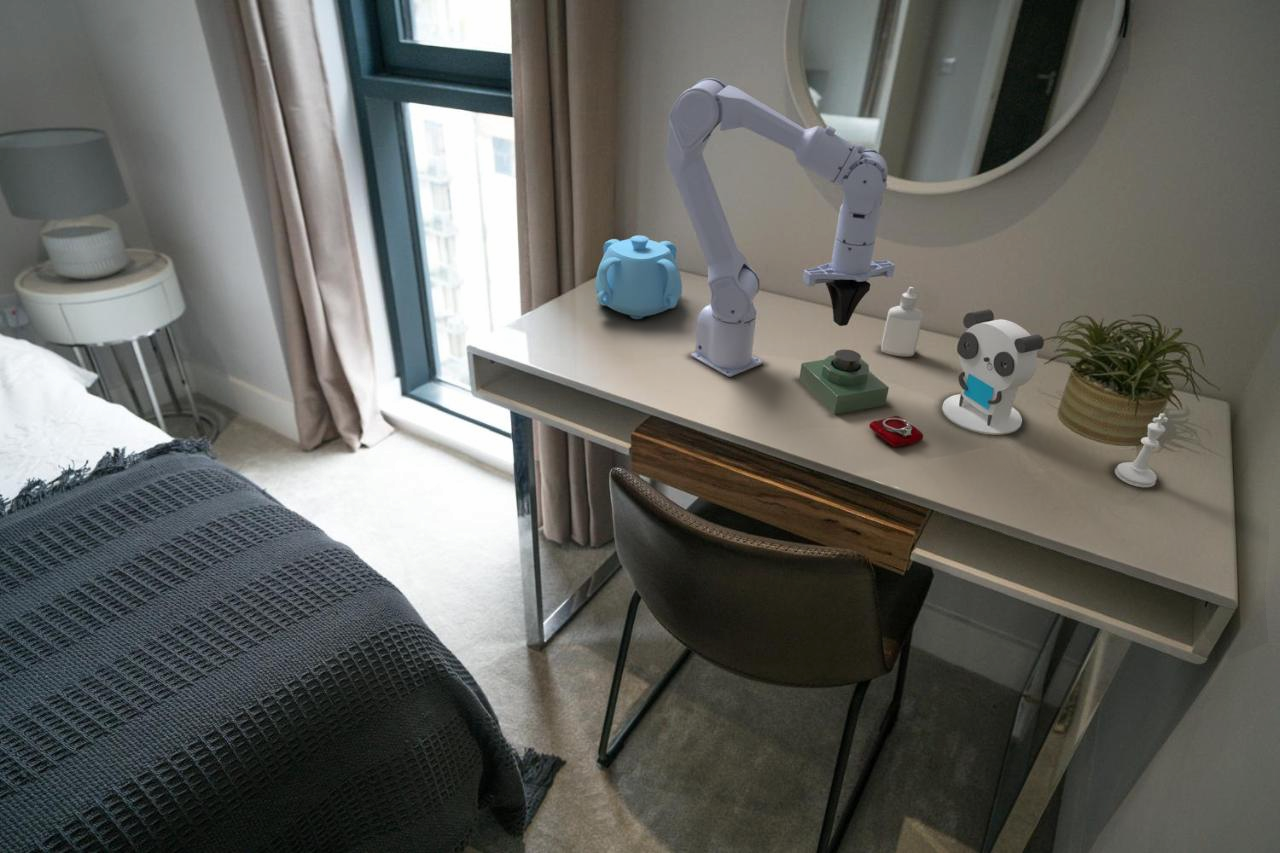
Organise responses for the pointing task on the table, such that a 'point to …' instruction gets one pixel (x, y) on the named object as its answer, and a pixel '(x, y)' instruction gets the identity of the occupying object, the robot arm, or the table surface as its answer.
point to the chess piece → (1143, 458)
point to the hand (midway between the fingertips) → (840, 323)
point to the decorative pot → (638, 276)
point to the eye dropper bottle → (902, 327)
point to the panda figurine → (991, 373)
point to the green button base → (843, 386)
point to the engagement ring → (896, 431)
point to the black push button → (846, 360)
